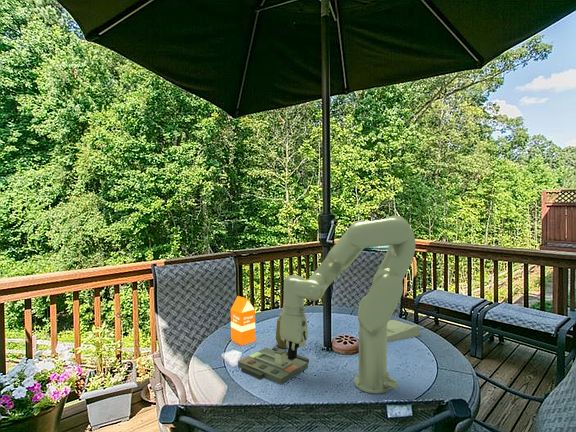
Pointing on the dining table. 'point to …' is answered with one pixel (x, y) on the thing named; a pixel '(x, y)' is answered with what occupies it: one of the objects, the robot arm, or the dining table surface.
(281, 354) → the breaker lever
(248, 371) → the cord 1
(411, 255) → the robot arm
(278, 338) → the squeeze bottle
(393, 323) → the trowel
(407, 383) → the dining table surface
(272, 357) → the breaker panel
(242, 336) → the orange juice
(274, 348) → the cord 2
